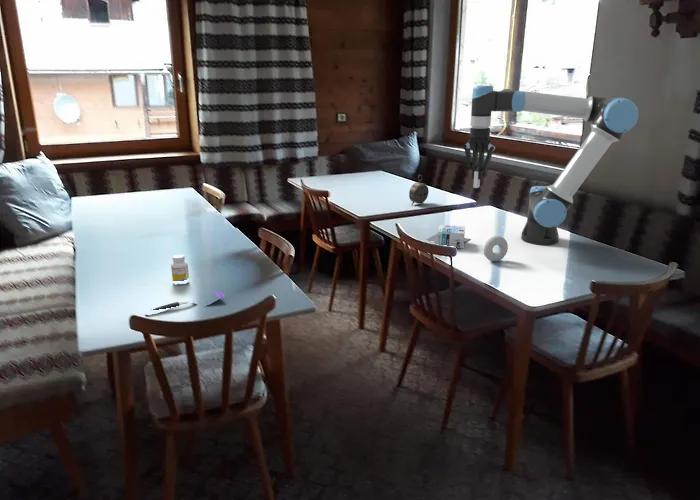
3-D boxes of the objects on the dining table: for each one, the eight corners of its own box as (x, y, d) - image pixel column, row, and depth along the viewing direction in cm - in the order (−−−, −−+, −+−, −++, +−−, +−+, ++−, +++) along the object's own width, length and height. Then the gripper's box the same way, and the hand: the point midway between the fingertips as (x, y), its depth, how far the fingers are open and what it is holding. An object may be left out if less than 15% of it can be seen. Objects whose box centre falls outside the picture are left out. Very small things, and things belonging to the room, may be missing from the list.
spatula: (147, 320, 165) (146, 313, 164) (142, 312, 170) (141, 305, 170) (226, 303, 176) (225, 296, 175) (219, 296, 182) (218, 289, 181)
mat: (470, 239, 238) (470, 238, 238) (453, 249, 226) (453, 248, 226) (438, 233, 247) (438, 233, 247) (421, 242, 235) (421, 241, 234)
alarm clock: (422, 202, 302) (423, 172, 297) (429, 204, 298) (431, 174, 293) (408, 205, 295) (409, 175, 290) (415, 207, 291) (416, 176, 286)
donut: (503, 258, 216) (505, 233, 212) (508, 261, 212) (511, 236, 209) (480, 261, 213) (482, 236, 209) (485, 264, 209) (487, 238, 206)
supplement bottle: (179, 279, 195) (176, 252, 192) (192, 281, 193) (189, 254, 190) (169, 284, 191) (166, 257, 187) (182, 286, 189) (179, 259, 186)
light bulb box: (464, 233, 224) (437, 231, 225) (463, 249, 226) (436, 247, 228) (464, 225, 233) (438, 224, 235) (463, 241, 236) (437, 239, 238)
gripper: (500, 127, 215) (495, 187, 222) (468, 125, 222) (465, 183, 229) (492, 129, 209) (488, 190, 217) (460, 127, 216) (457, 187, 224)
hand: (476, 187), depth 223 cm, fingers closed
